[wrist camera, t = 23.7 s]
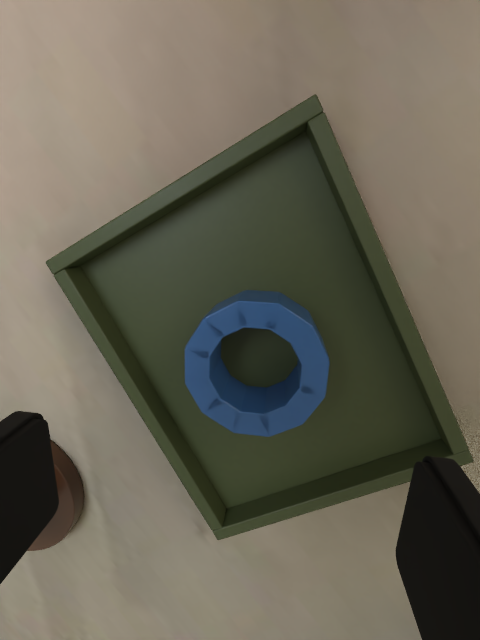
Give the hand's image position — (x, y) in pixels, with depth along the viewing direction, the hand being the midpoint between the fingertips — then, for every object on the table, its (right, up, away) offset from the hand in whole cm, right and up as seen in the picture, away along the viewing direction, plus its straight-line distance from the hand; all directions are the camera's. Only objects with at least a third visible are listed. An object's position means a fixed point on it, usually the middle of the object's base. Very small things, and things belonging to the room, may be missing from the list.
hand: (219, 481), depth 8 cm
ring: (+2, +2, +11) cm, 11 cm away
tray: (+2, +2, +11) cm, 12 cm away
